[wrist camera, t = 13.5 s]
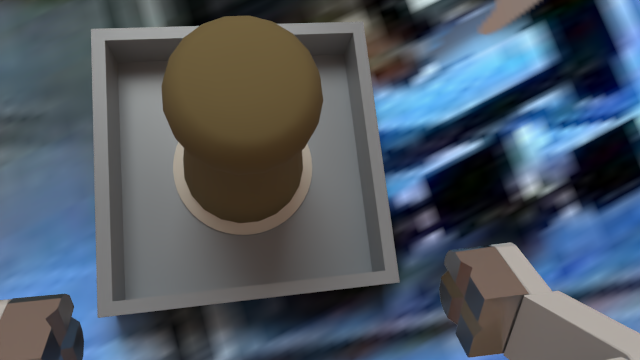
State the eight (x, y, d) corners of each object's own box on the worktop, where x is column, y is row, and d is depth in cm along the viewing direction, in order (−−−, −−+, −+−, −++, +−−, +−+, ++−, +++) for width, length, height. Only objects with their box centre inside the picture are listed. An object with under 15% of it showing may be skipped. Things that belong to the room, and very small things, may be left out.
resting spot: (229, 263, 24) (229, 263, 24) (145, 152, 25) (144, 151, 25) (338, 180, 26) (339, 179, 26) (257, 77, 27) (257, 76, 26)
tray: (115, 314, 24) (97, 317, 21) (107, 57, 26) (91, 28, 23) (382, 282, 26) (399, 282, 23) (350, 48, 29) (363, 21, 26)
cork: (177, 219, 24) (125, 166, 14) (188, 103, 26) (149, -29, 15) (300, 226, 25) (342, 180, 14) (305, 113, 26) (346, -6, 16)
